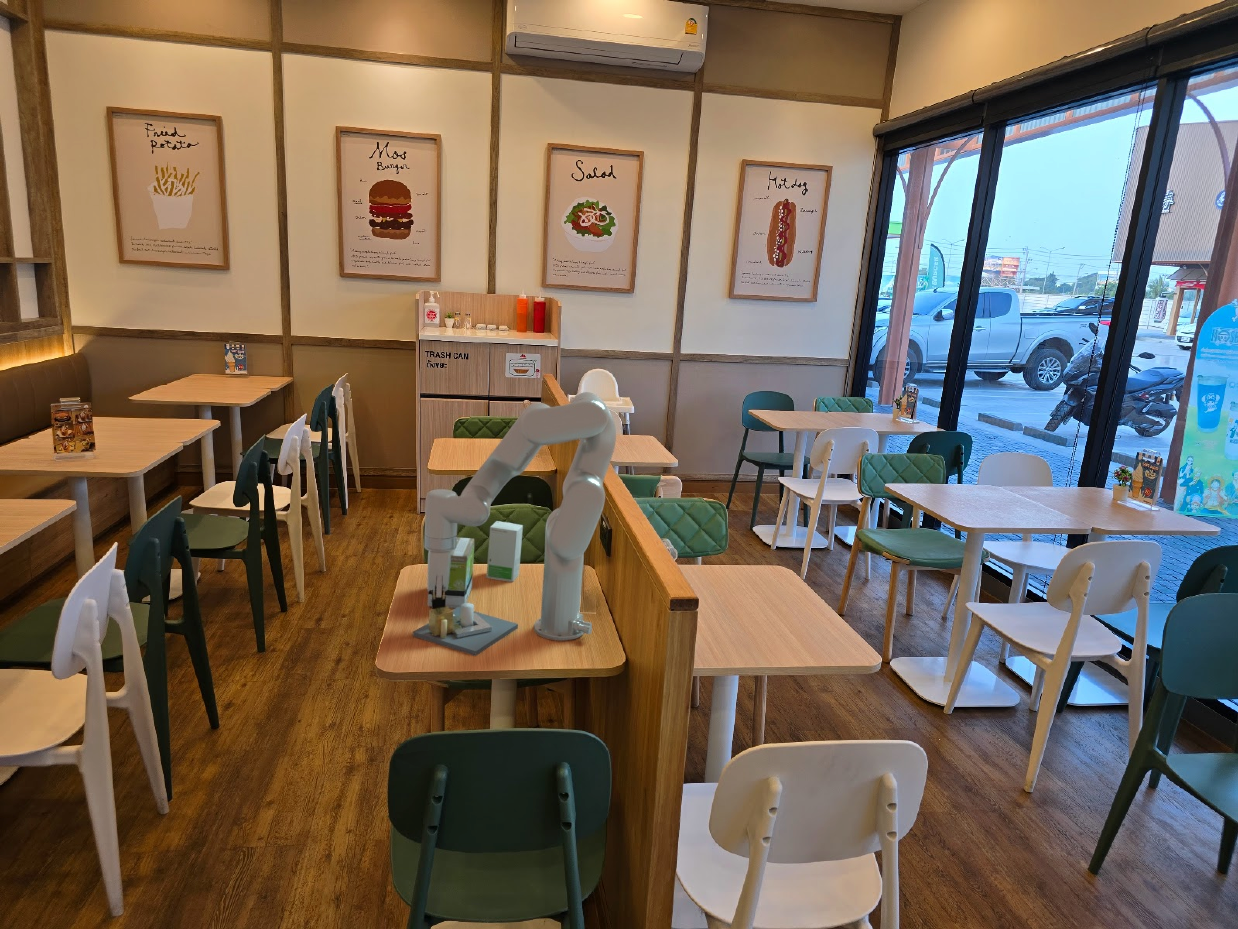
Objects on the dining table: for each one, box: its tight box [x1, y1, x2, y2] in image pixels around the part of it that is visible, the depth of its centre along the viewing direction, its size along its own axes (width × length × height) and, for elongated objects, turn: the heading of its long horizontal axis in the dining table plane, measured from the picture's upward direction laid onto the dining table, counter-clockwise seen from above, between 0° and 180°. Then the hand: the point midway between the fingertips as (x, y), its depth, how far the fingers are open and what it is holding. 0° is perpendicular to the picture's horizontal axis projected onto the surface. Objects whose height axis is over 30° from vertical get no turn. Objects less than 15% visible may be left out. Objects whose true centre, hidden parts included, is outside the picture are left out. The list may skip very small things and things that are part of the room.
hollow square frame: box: [428, 607, 492, 638], centre depth 197 cm, size 14×9×6 cm, turn 126°
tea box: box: [427, 537, 475, 609], centre depth 217 cm, size 15×10×15 cm, turn 3°
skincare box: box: [486, 520, 524, 583], centre depth 234 cm, size 8×7×16 cm
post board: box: [412, 602, 519, 657], centre depth 198 cm, size 18×18×7 cm
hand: (438, 612), depth 199 cm, fingers closed
